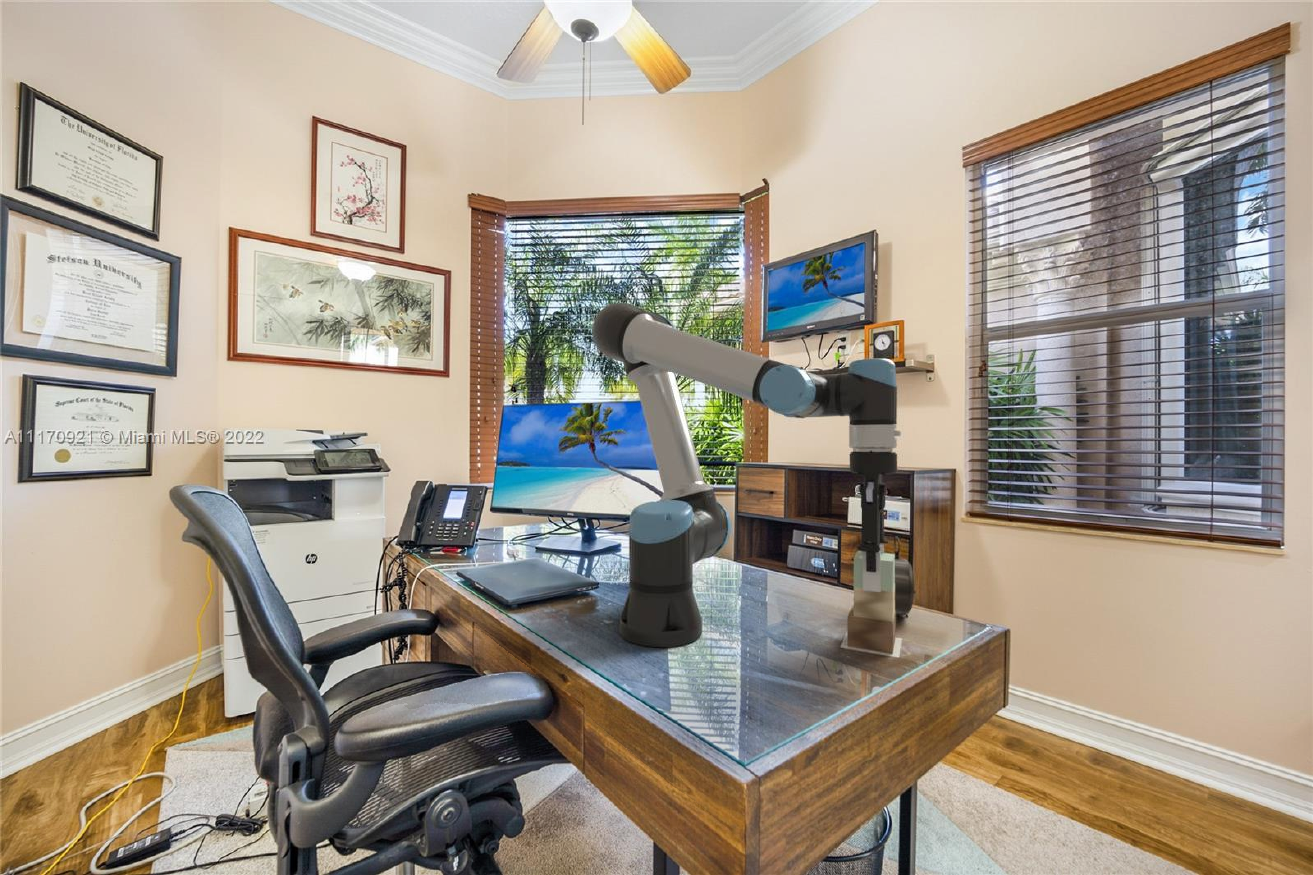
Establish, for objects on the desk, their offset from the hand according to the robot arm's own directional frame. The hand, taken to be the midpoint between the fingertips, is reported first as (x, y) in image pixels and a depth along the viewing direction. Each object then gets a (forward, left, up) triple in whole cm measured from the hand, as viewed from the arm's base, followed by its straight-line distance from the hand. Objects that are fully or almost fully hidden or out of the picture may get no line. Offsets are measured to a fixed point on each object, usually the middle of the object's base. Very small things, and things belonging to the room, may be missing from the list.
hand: (873, 585), depth 91 cm
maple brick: (0, 0, -5) cm, 5 cm away
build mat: (0, 0, -10) cm, 11 cm away
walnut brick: (0, 0, -10) cm, 10 cm away
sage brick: (0, 0, 0) cm, 0 cm away
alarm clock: (+3, +17, -11) cm, 20 cm away
